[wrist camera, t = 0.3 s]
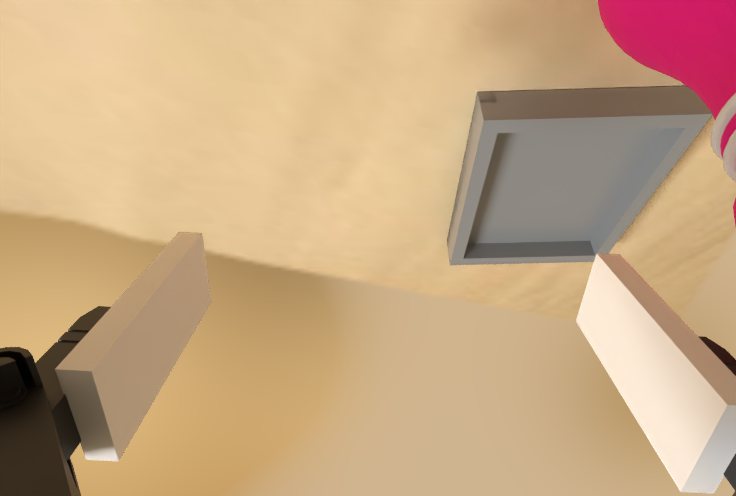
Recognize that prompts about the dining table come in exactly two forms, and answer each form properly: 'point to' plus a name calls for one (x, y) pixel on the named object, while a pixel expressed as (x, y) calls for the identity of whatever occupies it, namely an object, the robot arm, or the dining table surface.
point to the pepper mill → (686, 54)
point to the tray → (565, 170)
